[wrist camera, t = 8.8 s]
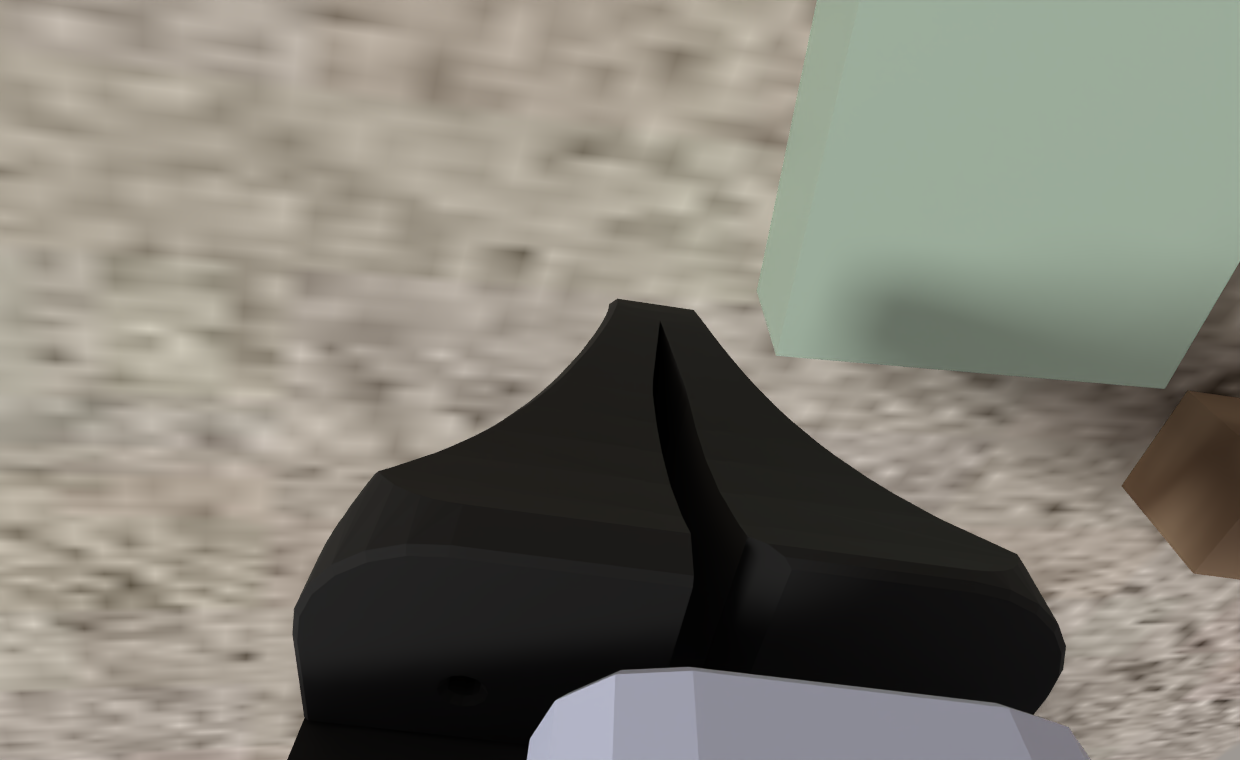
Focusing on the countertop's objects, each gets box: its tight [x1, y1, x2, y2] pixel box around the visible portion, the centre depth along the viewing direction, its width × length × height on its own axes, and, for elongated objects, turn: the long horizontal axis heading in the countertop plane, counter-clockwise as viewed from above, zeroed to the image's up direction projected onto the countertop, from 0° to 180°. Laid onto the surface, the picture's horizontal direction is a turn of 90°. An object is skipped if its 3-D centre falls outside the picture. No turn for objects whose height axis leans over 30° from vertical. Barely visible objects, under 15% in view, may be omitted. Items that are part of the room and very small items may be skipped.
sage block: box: [757, 0, 1240, 389], centre depth 18 cm, size 10×10×4 cm
